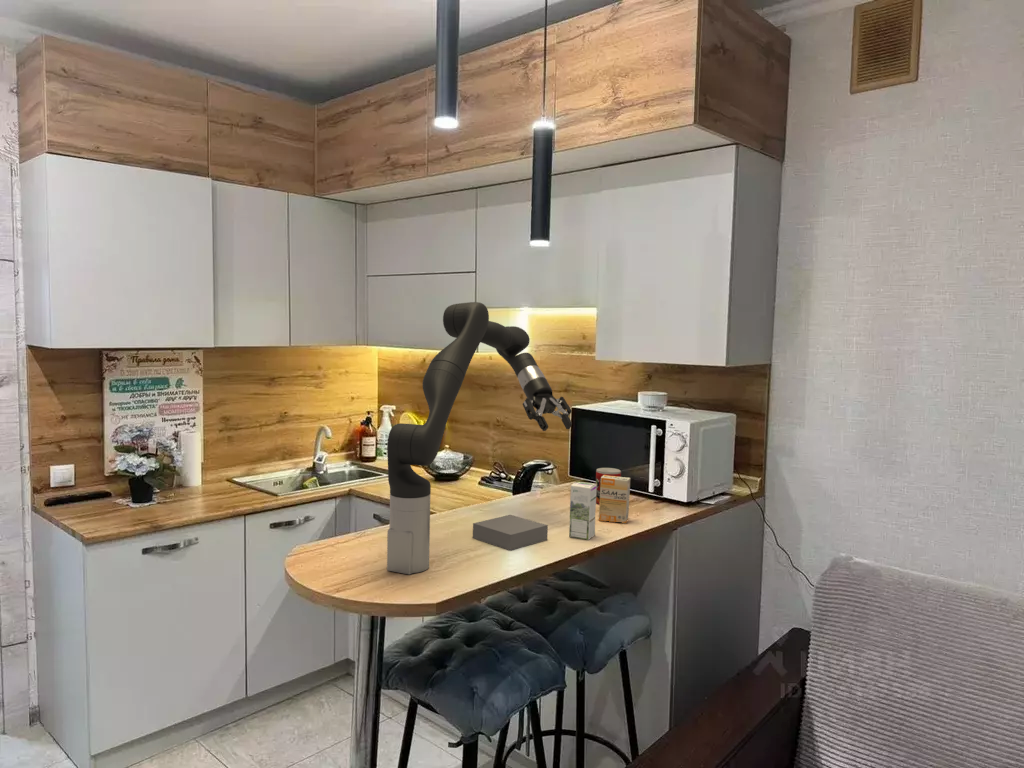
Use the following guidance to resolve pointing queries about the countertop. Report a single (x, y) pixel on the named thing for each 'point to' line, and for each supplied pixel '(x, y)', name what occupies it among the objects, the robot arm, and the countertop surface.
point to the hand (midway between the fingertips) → (558, 428)
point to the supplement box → (614, 499)
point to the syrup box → (582, 510)
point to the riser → (510, 532)
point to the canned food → (599, 474)
